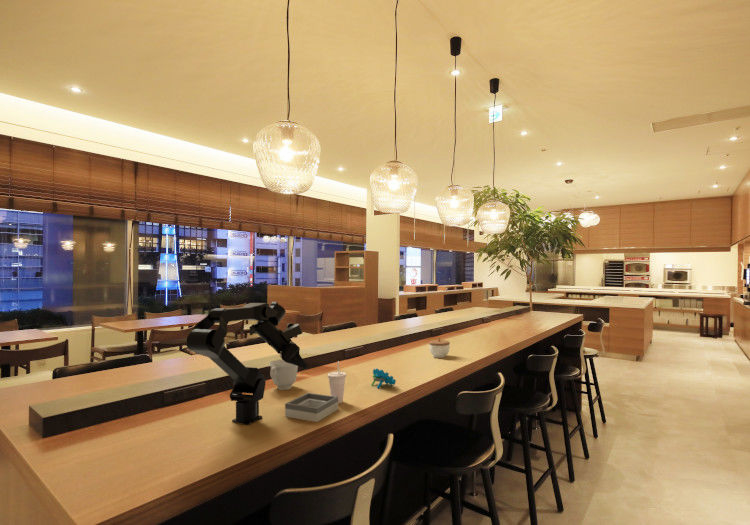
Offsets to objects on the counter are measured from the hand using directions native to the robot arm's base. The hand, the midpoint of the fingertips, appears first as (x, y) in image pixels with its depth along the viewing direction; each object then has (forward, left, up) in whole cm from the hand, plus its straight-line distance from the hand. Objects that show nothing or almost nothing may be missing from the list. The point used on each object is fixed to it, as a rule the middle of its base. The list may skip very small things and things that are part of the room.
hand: (303, 364), depth 134 cm
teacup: (+11, +18, -14) cm, 25 cm away
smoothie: (+6, -10, -14) cm, 18 cm away
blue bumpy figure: (+29, -17, -14) cm, 36 cm away
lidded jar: (+88, -22, -14) cm, 92 cm away
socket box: (-6, -8, -13) cm, 17 cm away
